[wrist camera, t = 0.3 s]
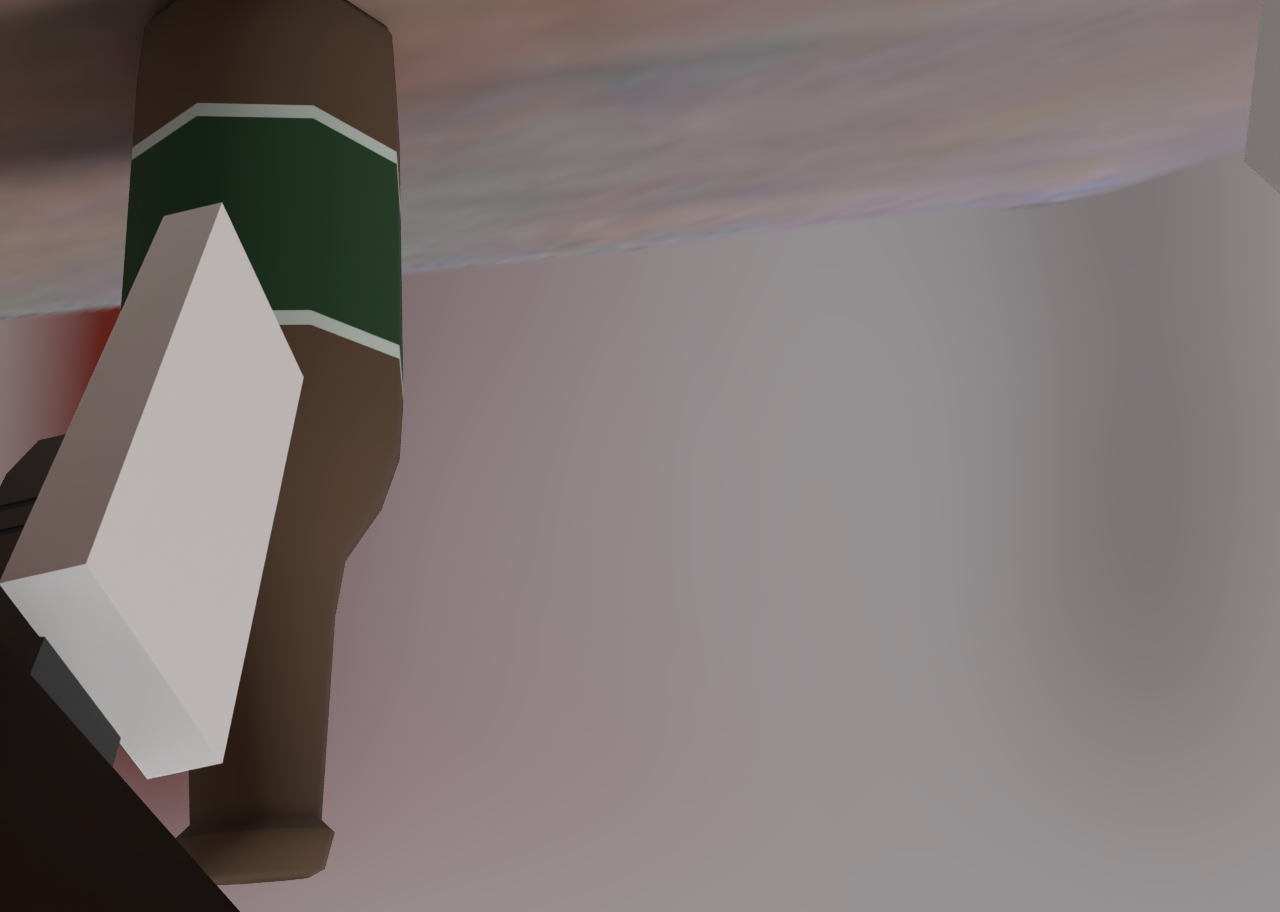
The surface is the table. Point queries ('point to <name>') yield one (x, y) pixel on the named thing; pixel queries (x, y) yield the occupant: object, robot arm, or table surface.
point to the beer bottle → (320, 342)
